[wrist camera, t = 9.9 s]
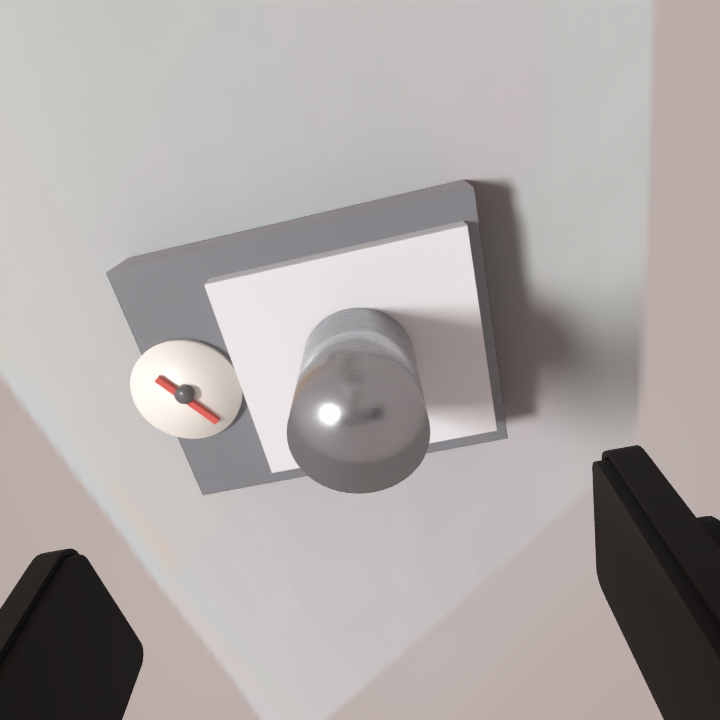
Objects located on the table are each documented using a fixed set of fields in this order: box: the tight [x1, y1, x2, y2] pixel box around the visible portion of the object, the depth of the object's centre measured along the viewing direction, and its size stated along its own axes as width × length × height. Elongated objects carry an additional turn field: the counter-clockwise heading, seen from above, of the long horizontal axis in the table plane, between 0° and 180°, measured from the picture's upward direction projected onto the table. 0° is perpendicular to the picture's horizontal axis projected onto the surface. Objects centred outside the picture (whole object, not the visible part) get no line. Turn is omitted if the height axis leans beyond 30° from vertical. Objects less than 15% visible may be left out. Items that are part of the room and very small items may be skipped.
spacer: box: [287, 308, 430, 493], centre depth 18 cm, size 4×4×5 cm
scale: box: [106, 180, 508, 495], centre depth 21 cm, size 10×14×3 cm
